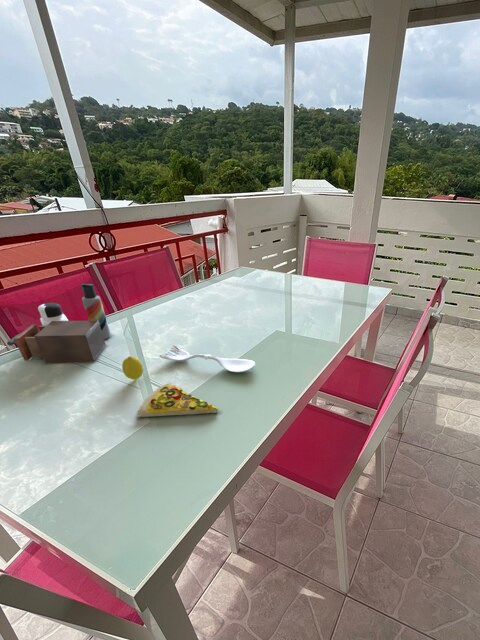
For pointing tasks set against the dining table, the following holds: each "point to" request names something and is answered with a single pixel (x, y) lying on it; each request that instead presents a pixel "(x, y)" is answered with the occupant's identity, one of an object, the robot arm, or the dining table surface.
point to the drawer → (28, 343)
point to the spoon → (227, 364)
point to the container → (51, 313)
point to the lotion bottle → (95, 308)
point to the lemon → (132, 368)
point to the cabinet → (71, 341)
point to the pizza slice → (173, 403)
